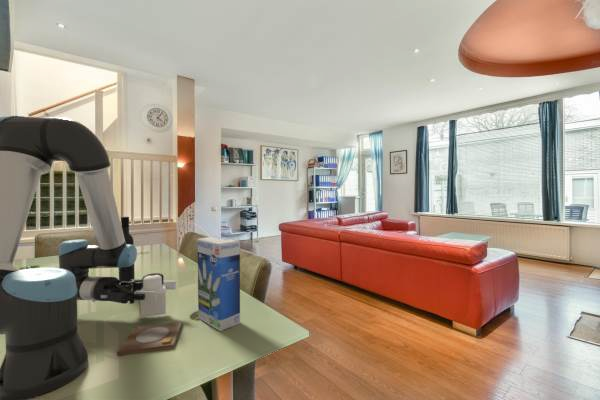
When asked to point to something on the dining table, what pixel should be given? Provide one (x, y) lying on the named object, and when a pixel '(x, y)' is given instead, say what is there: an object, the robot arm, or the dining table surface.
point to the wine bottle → (126, 272)
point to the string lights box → (219, 282)
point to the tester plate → (151, 338)
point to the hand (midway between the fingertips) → (166, 290)
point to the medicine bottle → (157, 284)
